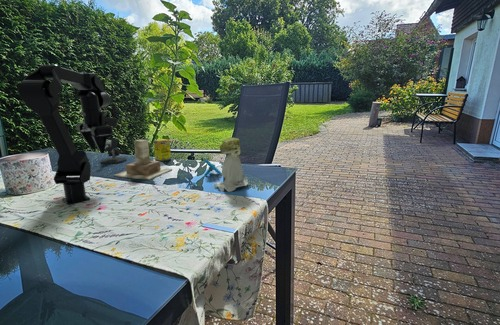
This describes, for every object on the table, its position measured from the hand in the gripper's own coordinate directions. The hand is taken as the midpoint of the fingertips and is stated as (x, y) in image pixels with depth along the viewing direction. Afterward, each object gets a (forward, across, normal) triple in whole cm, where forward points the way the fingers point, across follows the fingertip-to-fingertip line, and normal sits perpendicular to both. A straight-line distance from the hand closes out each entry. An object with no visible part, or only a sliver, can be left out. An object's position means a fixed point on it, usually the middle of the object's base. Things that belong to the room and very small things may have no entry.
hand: (97, 150), depth 106 cm
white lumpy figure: (+13, -40, -31) cm, 53 cm away
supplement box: (+15, +18, -37) cm, 44 cm away
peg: (+13, +2, -18) cm, 22 cm away
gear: (+14, -24, -36) cm, 45 cm away
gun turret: (+15, +33, -17) cm, 40 cm away
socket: (+14, +2, -18) cm, 23 cm away
